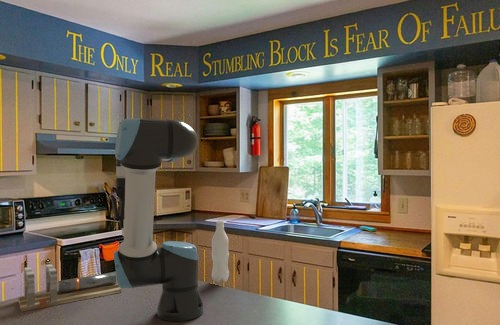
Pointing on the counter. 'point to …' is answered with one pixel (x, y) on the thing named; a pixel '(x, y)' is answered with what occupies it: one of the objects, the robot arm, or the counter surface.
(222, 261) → the water bottle
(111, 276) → the tube
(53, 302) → the rail
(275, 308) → the counter surface
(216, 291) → the counter surface
